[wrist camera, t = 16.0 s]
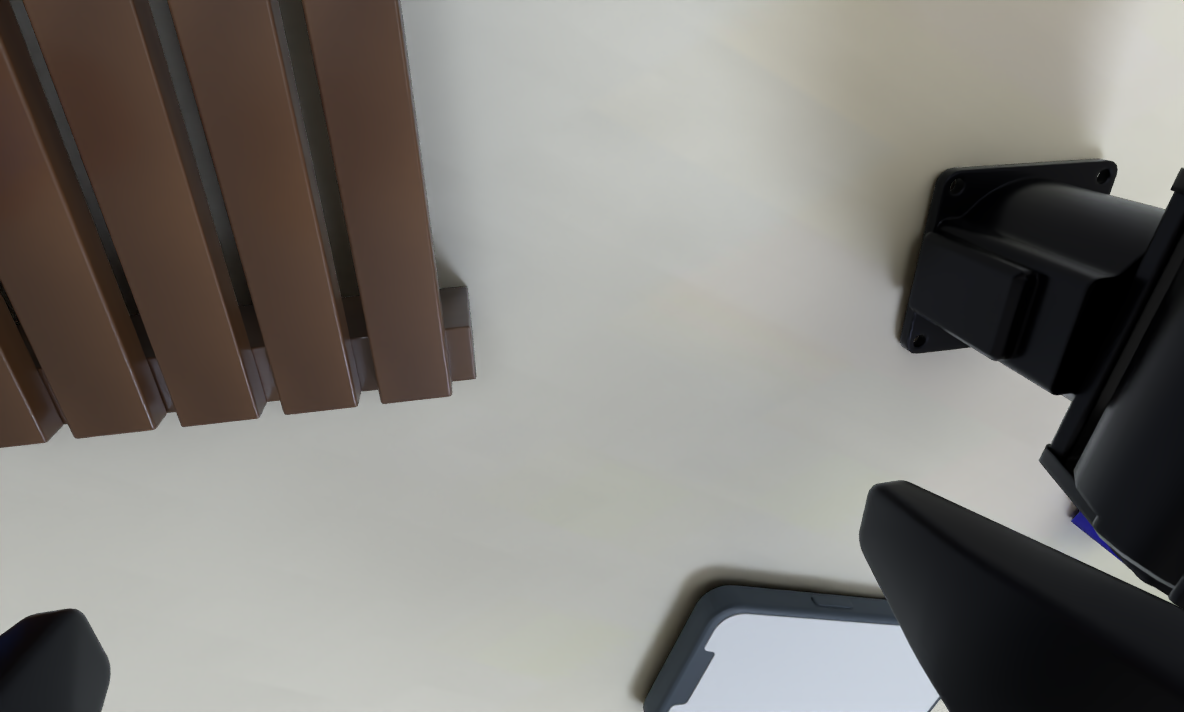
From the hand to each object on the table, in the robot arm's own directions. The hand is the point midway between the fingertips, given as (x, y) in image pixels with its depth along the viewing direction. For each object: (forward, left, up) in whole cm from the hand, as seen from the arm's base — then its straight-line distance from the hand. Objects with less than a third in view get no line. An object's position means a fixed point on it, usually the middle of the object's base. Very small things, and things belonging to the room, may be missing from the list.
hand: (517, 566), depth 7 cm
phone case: (-14, +22, -13) cm, 29 cm away
